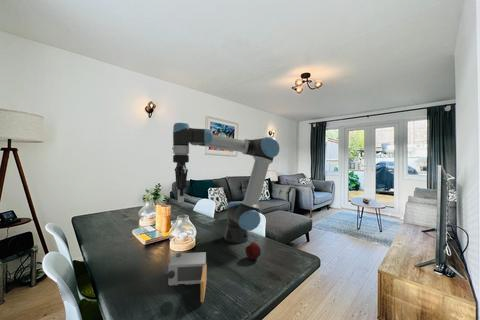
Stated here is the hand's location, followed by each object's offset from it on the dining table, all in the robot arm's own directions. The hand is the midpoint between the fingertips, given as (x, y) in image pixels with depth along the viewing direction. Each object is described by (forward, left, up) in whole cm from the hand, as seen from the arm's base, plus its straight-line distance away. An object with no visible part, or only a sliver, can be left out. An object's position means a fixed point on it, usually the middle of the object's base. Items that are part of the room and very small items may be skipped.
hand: (180, 202), depth 101 cm
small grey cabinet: (-6, +16, -28) cm, 33 cm away
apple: (-36, +3, -29) cm, 46 cm away
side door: (-13, +27, -27) cm, 41 cm away
